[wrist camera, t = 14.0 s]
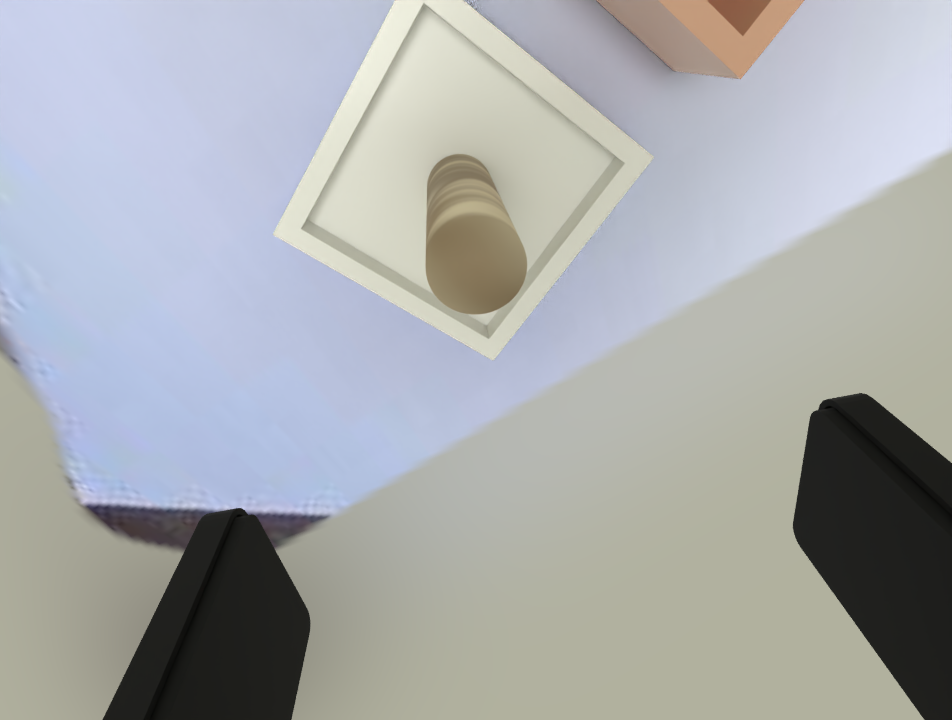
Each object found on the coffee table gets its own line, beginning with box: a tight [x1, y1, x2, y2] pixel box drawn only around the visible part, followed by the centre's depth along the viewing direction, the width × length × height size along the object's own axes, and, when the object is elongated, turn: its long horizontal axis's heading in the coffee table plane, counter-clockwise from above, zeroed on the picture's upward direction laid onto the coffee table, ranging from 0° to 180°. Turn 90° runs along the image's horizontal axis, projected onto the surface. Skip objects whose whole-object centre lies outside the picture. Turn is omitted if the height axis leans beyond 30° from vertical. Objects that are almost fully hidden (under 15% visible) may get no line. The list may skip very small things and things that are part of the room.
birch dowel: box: [425, 154, 527, 315], centre depth 28 cm, size 4×4×14 cm
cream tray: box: [273, 0, 654, 360], centre depth 33 cm, size 16×16×3 cm
